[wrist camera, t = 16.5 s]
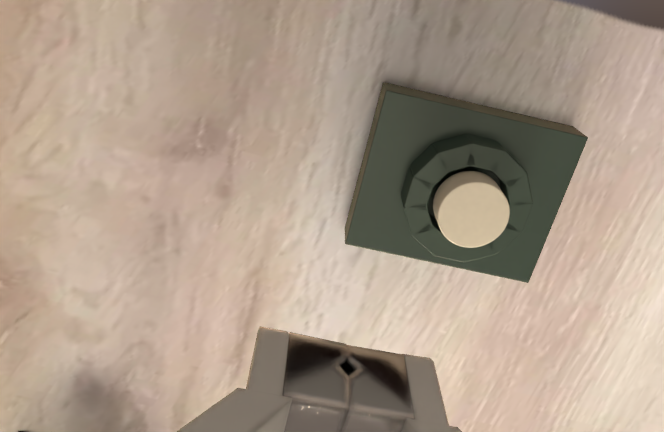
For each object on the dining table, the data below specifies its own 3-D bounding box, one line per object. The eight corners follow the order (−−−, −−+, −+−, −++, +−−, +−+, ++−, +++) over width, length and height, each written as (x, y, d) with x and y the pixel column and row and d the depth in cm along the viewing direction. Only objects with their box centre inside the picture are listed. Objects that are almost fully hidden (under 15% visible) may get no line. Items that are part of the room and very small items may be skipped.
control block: (344, 228, 37) (345, 258, 33) (383, 81, 33) (388, 97, 29) (518, 265, 37) (537, 299, 34) (573, 126, 34) (602, 147, 30)
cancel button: (424, 225, 32) (428, 240, 31) (444, 163, 31) (450, 174, 29) (488, 239, 33) (496, 254, 31) (511, 178, 31) (520, 190, 30)
